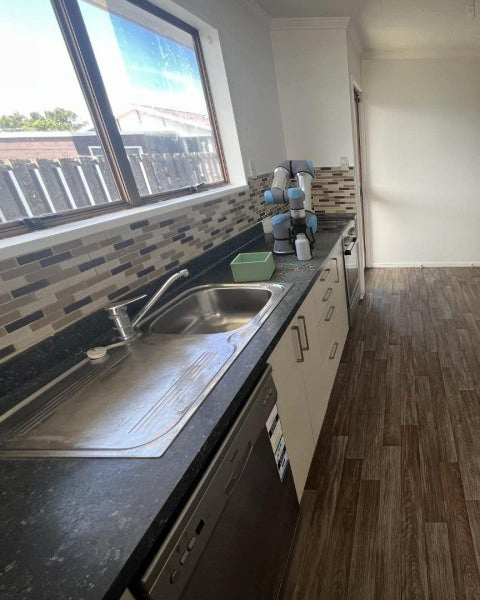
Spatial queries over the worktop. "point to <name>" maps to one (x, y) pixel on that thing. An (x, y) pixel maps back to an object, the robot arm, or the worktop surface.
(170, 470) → the worktop surface
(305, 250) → the pill bottle
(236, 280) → the bin
